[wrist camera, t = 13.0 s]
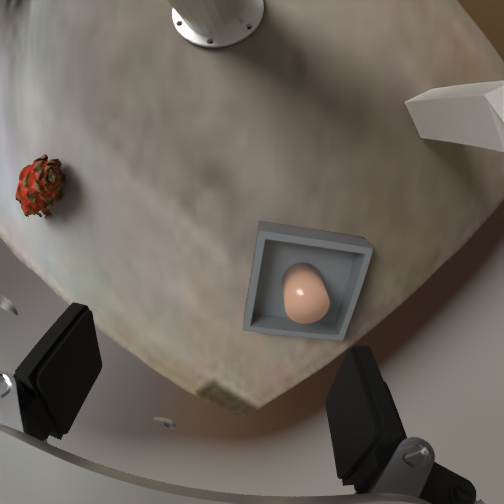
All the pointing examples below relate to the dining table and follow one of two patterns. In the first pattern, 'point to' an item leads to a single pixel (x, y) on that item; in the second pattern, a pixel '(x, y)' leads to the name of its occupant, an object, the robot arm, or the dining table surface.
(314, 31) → the dining table surface
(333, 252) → the bin
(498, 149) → the milk
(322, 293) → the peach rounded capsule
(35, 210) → the dragon fruit
